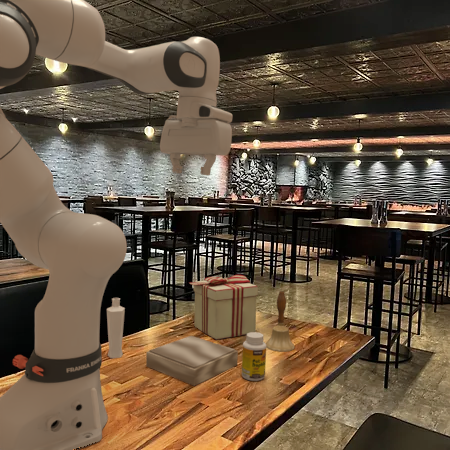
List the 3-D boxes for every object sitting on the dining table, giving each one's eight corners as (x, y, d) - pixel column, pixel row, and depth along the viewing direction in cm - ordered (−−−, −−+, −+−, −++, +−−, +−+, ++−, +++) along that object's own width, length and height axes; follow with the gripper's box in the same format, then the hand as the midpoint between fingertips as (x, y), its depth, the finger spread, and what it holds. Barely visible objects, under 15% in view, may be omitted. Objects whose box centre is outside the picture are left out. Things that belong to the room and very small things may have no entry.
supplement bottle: (250, 383, 99) (252, 340, 98) (236, 374, 104) (238, 333, 103) (269, 378, 102) (271, 336, 101) (255, 370, 107) (257, 329, 106)
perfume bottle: (102, 357, 112) (103, 299, 110) (112, 351, 116) (112, 296, 115) (117, 360, 110) (118, 301, 109) (127, 354, 114) (128, 298, 113)
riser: (194, 385, 97) (194, 368, 97) (146, 366, 107) (146, 350, 107) (237, 364, 110) (237, 349, 109) (190, 348, 120) (191, 334, 119)
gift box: (225, 318, 150) (226, 268, 149) (259, 333, 135) (261, 278, 134) (182, 325, 140) (183, 272, 139) (214, 342, 125) (215, 284, 124)
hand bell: (291, 353, 119) (294, 296, 117) (262, 349, 121) (264, 292, 120) (296, 343, 126) (299, 289, 125) (269, 339, 129) (271, 286, 128)
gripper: (156, 113, 104) (151, 170, 105) (219, 108, 91) (212, 174, 92) (176, 118, 109) (171, 173, 110) (238, 114, 96) (232, 177, 97)
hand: (190, 174), depth 101 cm, fingers open, 8 cm apart
